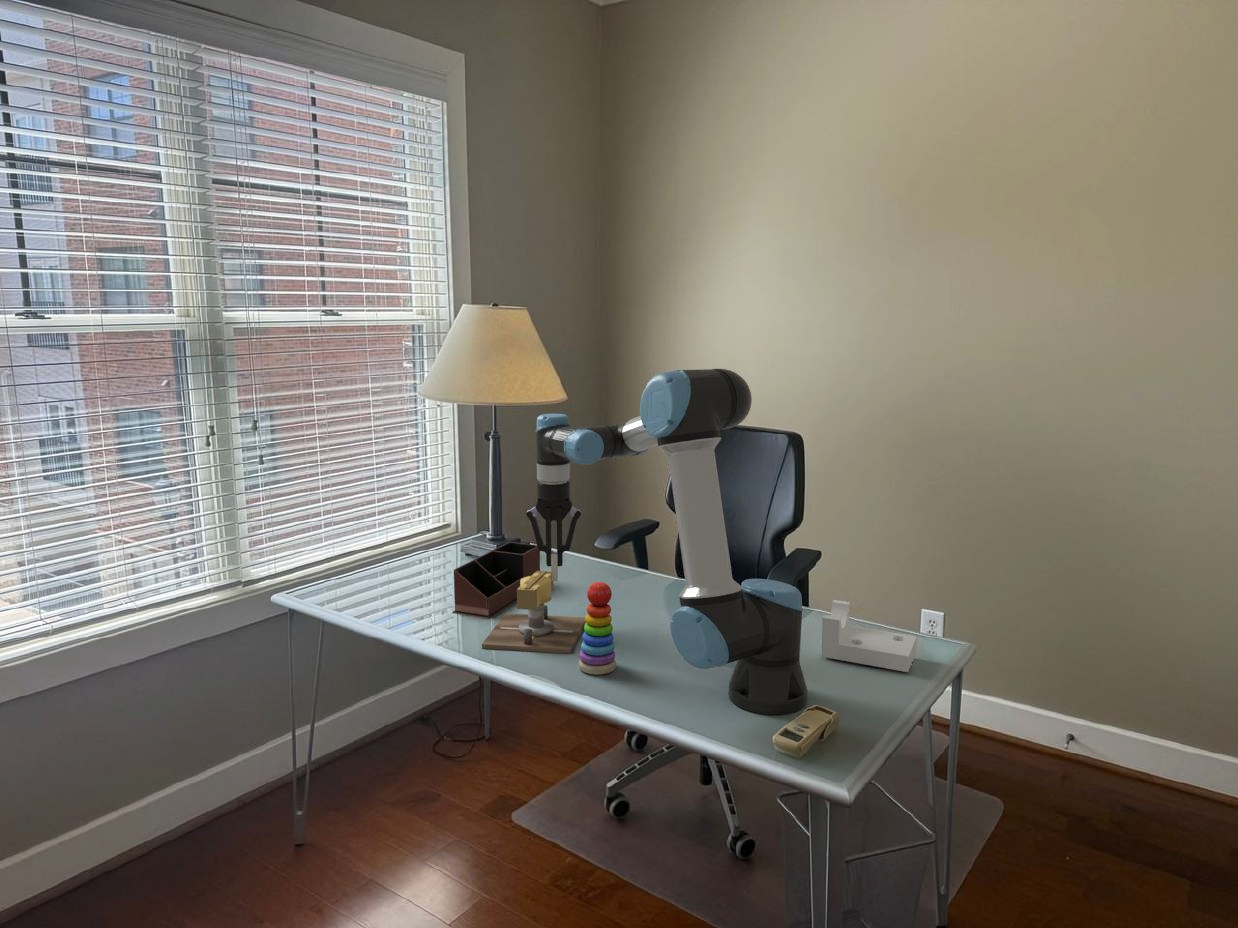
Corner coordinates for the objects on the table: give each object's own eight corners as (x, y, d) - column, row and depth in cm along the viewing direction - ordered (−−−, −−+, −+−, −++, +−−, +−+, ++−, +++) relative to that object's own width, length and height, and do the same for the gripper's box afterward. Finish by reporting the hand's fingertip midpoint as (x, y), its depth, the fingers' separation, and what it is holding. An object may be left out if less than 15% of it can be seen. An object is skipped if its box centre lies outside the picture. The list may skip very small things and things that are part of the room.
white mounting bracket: (821, 661, 193) (822, 617, 190) (832, 642, 201) (833, 599, 198) (907, 677, 185) (910, 631, 182) (915, 656, 193) (917, 612, 190)
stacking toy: (602, 679, 182) (603, 591, 178) (570, 670, 186) (570, 584, 183) (623, 666, 188) (624, 581, 185) (591, 658, 192) (591, 574, 189)
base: (570, 653, 195) (570, 617, 193) (481, 648, 198) (481, 612, 196) (586, 621, 214) (586, 588, 213) (505, 617, 217) (504, 584, 216)
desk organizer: (542, 584, 243) (542, 544, 241) (489, 619, 216) (488, 575, 214) (508, 580, 247) (507, 540, 245) (451, 614, 220) (450, 570, 218)
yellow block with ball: (531, 588, 212) (530, 568, 211) (559, 590, 210) (559, 571, 210) (510, 608, 198) (510, 587, 198) (541, 610, 197) (540, 589, 196)
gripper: (581, 477, 210) (582, 574, 214) (526, 478, 209) (528, 574, 213) (581, 484, 202) (582, 583, 207) (524, 484, 202) (526, 584, 206)
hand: (554, 579), depth 210 cm, fingers closed
